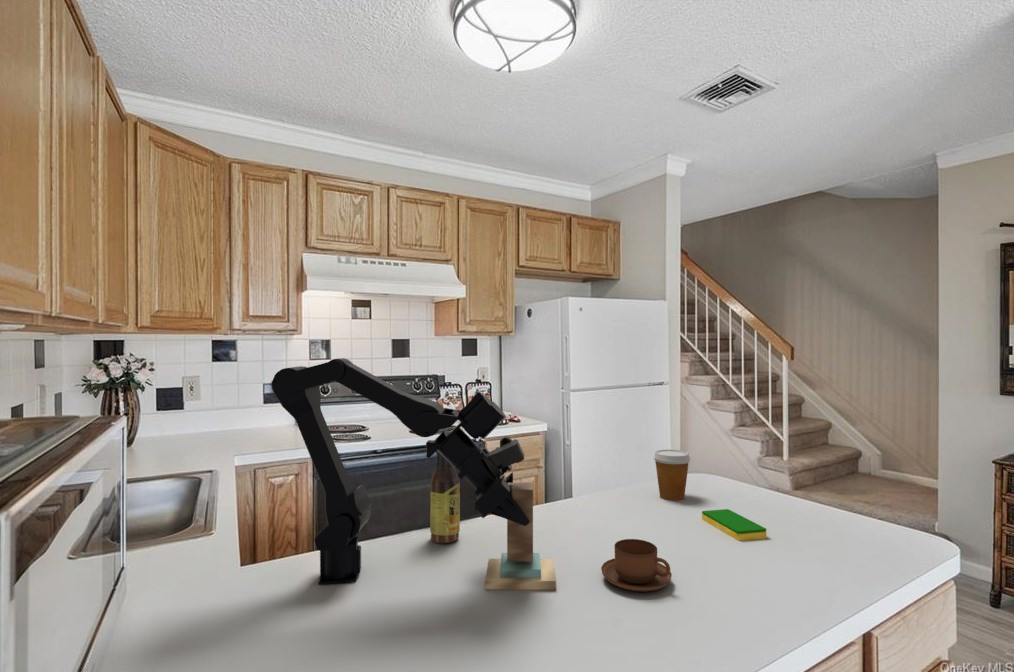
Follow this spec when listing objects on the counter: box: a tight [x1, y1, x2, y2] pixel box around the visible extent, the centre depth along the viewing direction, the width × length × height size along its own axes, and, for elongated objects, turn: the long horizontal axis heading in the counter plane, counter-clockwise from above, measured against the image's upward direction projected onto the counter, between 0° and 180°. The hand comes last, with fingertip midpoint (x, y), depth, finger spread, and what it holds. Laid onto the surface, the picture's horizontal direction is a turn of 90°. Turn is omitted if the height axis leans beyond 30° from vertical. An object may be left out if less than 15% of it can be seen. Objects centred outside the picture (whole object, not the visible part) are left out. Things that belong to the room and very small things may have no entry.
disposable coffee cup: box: [653, 448, 691, 502], centre depth 142 cm, size 10×10×12 cm
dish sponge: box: [701, 508, 768, 542], centre depth 119 cm, size 7×14×2 cm, turn 11°
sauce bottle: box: [429, 451, 461, 544], centre depth 113 cm, size 6×6×20 cm
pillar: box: [506, 482, 534, 561], centre depth 94 cm, size 4×4×12 cm
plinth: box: [484, 552, 557, 591], centre depth 94 cm, size 12×9×3 cm
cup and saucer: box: [600, 538, 672, 592], centre depth 93 cm, size 12×12×6 cm
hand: (527, 519), depth 94 cm, fingers closed on pillar, 4 cm apart
